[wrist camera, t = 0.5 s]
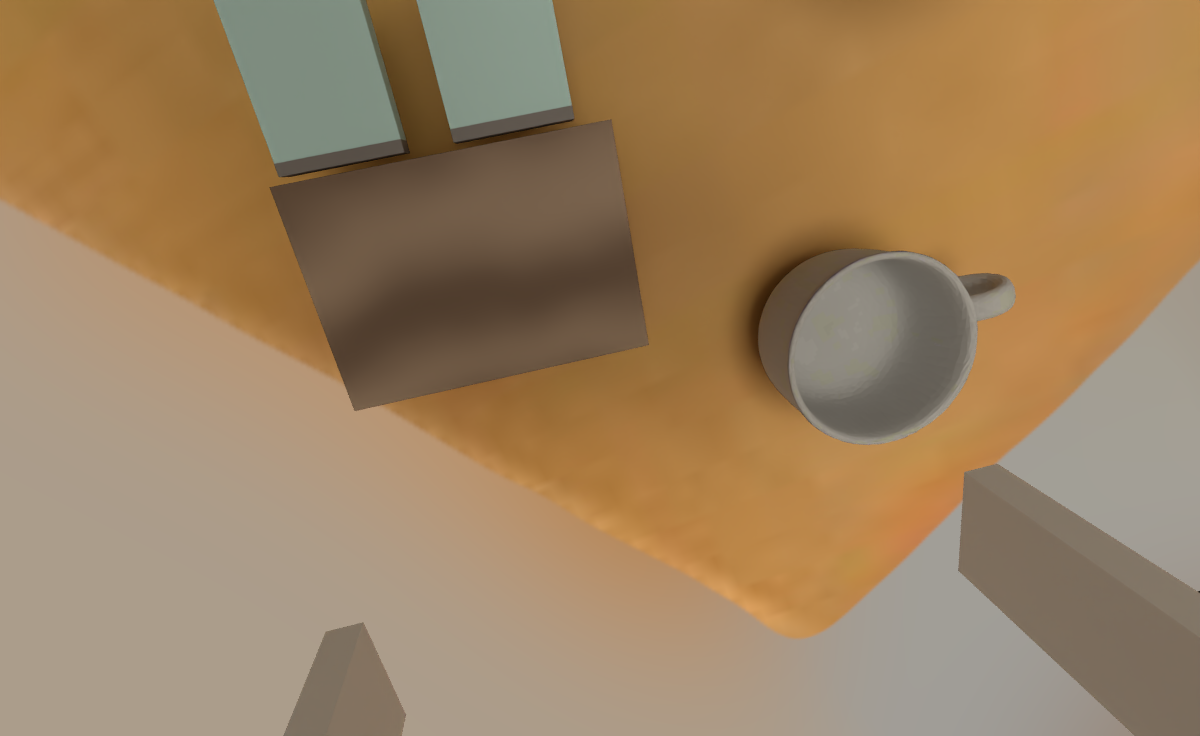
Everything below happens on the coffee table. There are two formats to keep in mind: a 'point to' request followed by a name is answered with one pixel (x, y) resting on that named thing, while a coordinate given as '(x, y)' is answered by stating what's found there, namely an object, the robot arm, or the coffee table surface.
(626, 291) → the block
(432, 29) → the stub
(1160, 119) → the coffee table surface
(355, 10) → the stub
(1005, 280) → the teacup
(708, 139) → the coffee table surface
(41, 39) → the coffee table surface
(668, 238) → the coffee table surface
